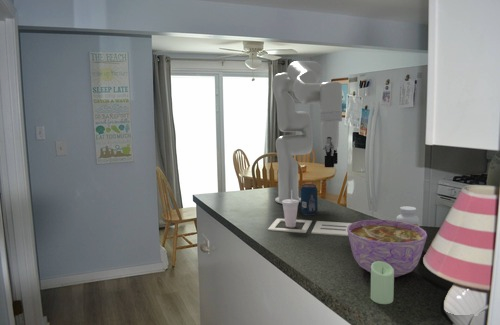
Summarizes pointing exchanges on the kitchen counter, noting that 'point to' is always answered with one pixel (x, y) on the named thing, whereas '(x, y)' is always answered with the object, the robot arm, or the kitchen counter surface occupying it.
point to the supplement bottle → (408, 215)
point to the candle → (382, 282)
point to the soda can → (309, 199)
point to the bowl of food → (387, 244)
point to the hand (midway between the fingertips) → (331, 165)
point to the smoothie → (290, 211)
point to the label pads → (315, 227)
